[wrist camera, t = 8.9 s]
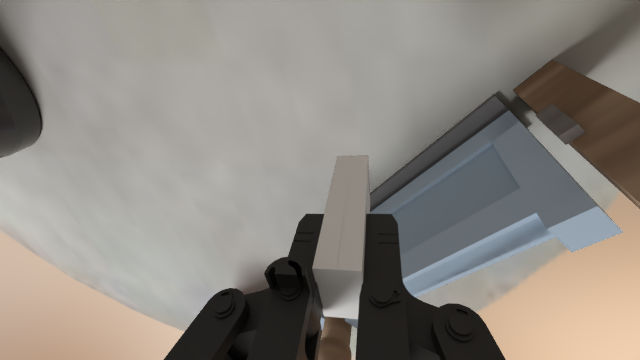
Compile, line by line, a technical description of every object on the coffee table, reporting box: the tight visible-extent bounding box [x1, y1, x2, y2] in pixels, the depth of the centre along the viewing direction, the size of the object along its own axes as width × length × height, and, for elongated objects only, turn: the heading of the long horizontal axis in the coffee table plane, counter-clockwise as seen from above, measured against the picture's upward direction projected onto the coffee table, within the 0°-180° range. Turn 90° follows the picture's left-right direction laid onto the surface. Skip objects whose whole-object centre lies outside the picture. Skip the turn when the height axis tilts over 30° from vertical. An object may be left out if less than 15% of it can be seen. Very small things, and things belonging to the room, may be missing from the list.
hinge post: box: [318, 316, 352, 360], centre depth 23 cm, size 2×2×13 cm
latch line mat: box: [370, 95, 528, 212], centre depth 23 cm, size 4×15×1 cm, turn 143°
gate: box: [345, 110, 623, 328], centre depth 18 cm, size 14×2×10 cm, turn 143°
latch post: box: [513, 60, 640, 209], centre depth 13 cm, size 3×3×12 cm
